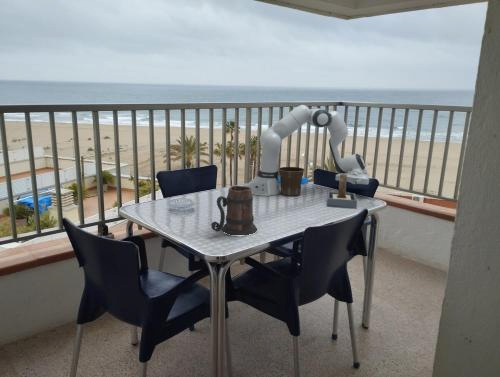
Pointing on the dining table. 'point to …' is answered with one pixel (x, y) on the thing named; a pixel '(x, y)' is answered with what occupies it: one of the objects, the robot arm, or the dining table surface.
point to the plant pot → (291, 180)
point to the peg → (342, 186)
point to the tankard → (236, 212)
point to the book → (304, 180)
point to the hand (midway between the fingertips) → (348, 181)
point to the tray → (341, 200)
